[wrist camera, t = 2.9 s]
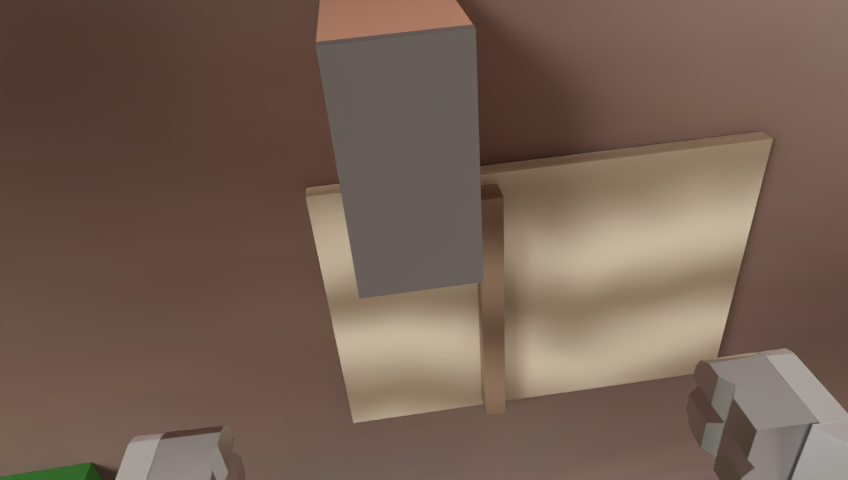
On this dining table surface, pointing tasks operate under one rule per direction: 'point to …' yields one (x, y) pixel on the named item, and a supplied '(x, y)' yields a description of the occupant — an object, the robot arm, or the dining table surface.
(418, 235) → the block
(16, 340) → the dining table surface
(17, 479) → the hardback book
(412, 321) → the board
